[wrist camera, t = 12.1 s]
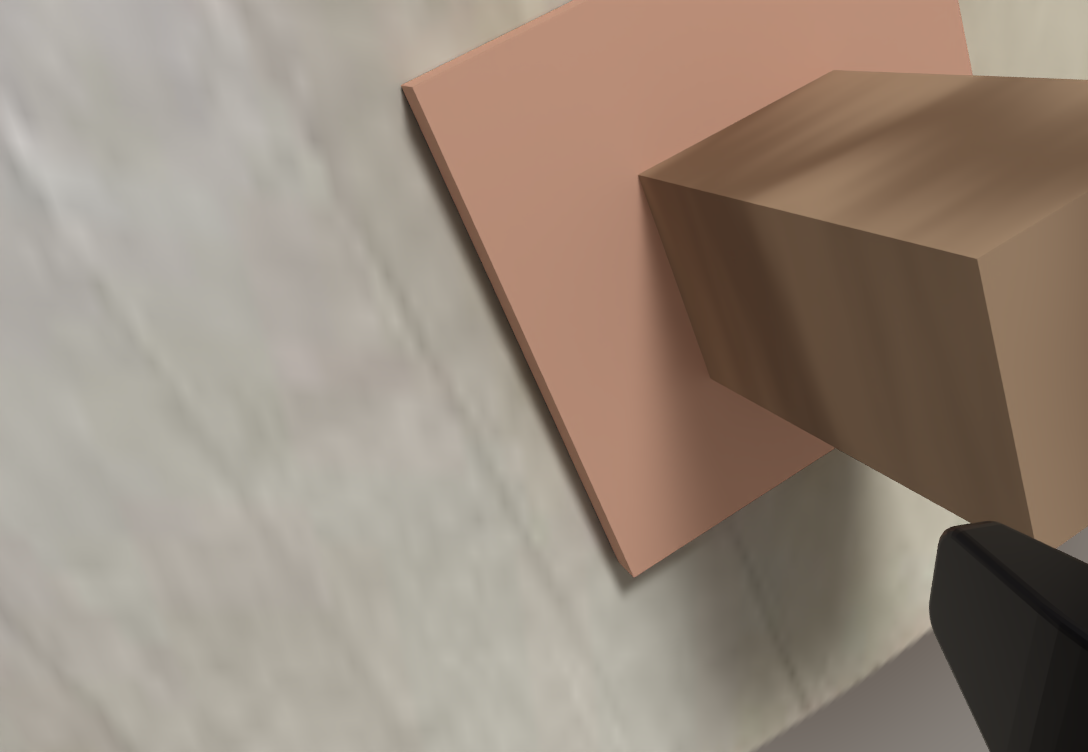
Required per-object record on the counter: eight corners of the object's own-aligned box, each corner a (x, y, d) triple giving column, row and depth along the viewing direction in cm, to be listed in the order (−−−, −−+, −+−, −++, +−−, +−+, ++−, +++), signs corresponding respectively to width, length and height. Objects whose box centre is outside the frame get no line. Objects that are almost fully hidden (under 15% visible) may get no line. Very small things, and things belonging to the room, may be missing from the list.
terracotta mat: (618, 561, 24) (633, 577, 23) (400, 85, 19) (412, 86, 18) (997, 320, 26) (1022, 327, 26) (898, -160, 21) (924, -167, 21)
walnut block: (710, 378, 22) (1038, 560, 15) (637, 174, 20) (977, 258, 12) (885, 274, 24) (1277, 391, 16) (833, 70, 21) (1260, 86, 14)
